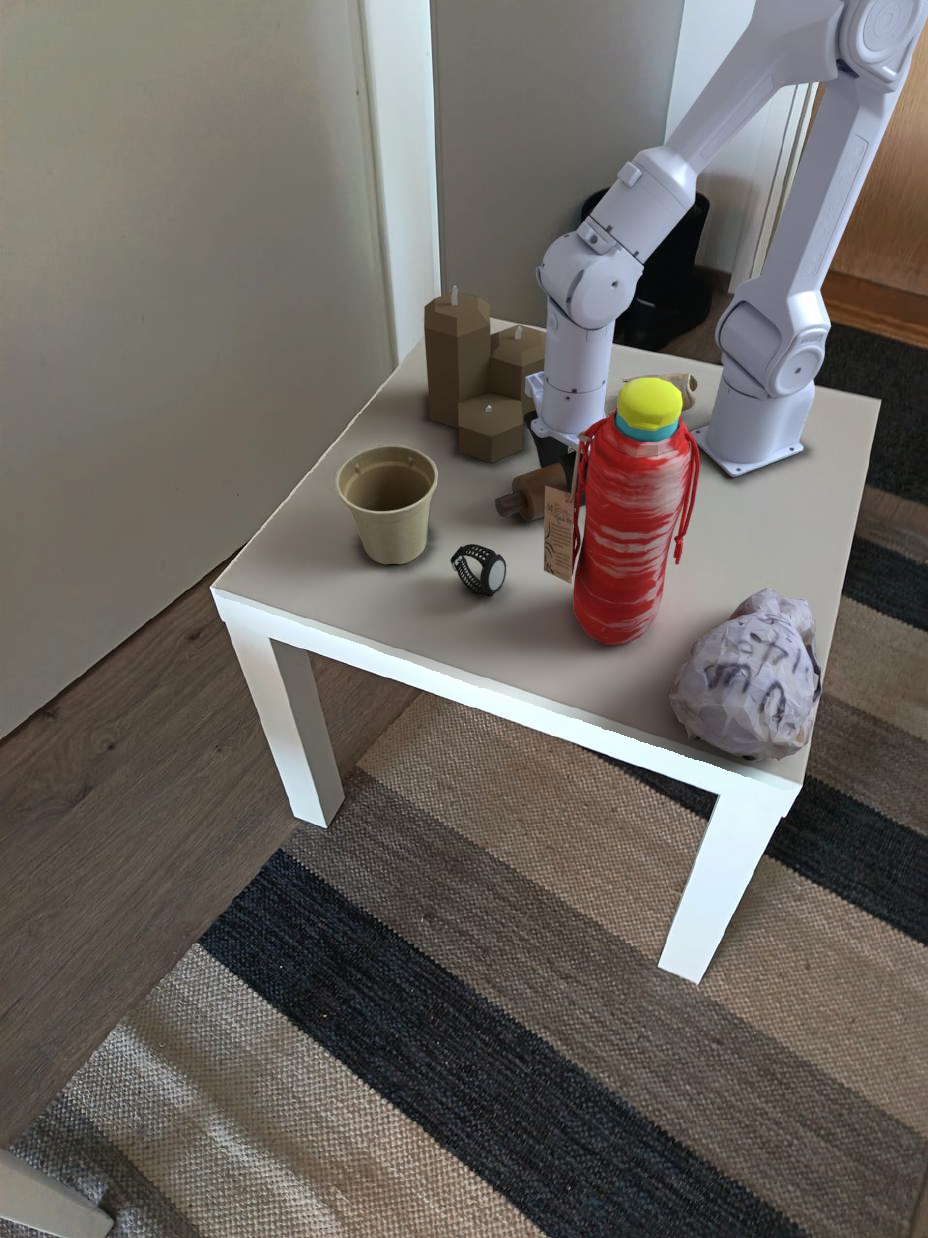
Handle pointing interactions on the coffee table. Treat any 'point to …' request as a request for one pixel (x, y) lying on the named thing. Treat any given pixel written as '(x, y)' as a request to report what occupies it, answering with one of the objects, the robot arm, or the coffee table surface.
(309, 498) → the coffee table surface
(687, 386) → the shell
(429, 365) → the candle
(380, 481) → the flower pot
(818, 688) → the scribbled crumpled paper bundle
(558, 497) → the water bottle
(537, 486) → the rolling pin
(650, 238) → the robot arm
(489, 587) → the smartwatch
